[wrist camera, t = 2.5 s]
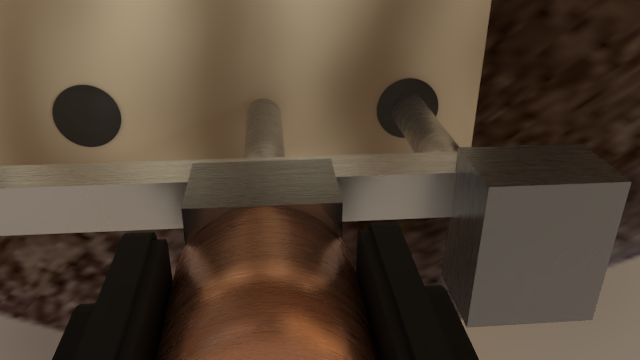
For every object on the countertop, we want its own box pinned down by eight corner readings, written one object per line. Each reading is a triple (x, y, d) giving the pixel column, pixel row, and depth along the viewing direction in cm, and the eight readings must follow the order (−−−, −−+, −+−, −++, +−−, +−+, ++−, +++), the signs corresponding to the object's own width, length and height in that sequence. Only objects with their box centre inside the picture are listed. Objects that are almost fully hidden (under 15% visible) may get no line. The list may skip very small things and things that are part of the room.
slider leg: (308, 45, 22) (428, 419, 6) (308, 132, 23) (403, 600, 8) (213, 46, 22) (94, 443, 6) (219, 134, 23) (139, 629, 8)
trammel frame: (461, 40, 23) (654, 180, 12) (451, 124, 24) (612, 318, 13) (-23, 47, 21) (-336, 217, 10) (0, 137, 23) (-246, 369, 12)
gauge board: (492, -152, 22) (514, -156, 20) (455, 140, 27) (470, 159, 25) (-64, -161, 20) (-98, -167, 18) (16, 154, 25) (-4, 174, 23)
